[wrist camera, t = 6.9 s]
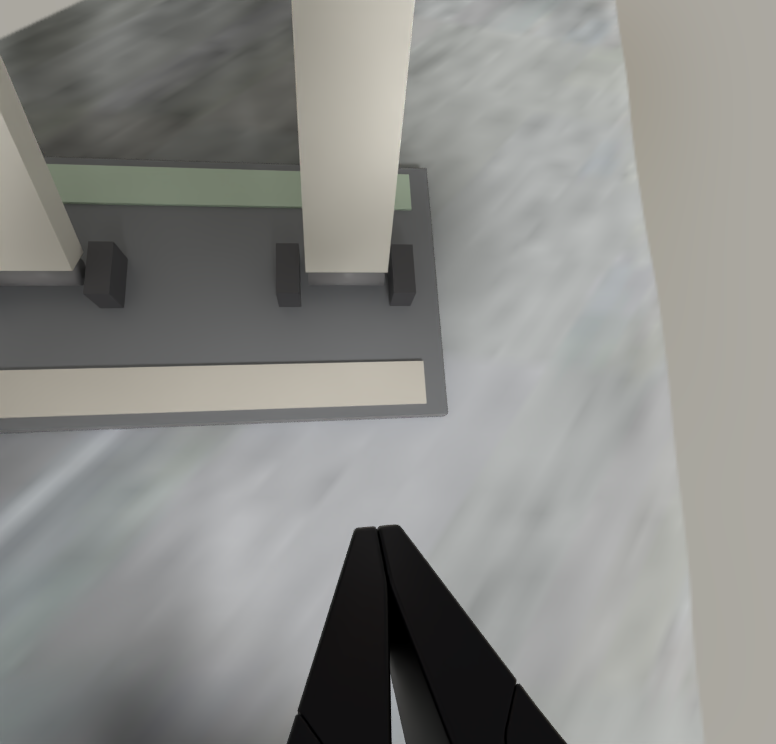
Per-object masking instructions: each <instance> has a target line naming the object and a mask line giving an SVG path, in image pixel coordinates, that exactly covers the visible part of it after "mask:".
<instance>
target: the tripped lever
mask: <svg viewBox="0 0 776 744" xmlns="http://www.w3.org/2000/svg"><path fill="white" fill-rule="evenodd" d="M291 4H292V23H293V42H294V61H295V80H296V99H297V118H298V137H299V156H300V175H301V194H302V213H303V232H304V251H305V270H306V272H308V283H309V285H384V278H385V273H388V264H389V254H390V244H391V235H392V225H393V215H394V205H395V195H396V185H397V175H398V165H399V155H400V145H401V135H402V125H403V115H404V106H405V96H406V86H407V76H408V66H409V56H410V46H411V36H412V26H413V16H414V6H415V0H291Z"/></svg>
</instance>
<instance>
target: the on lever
mask: <svg viewBox="0 0 776 744" xmlns="http://www.w3.org/2000/svg"><path fill="white" fill-rule="evenodd" d="M82 254H83V250H82V247H81V245H80V243H79V240H78V238H77V236H76V233H75V231H74V228H73V226H72V224H71V221H70V219H69V217H68V214H67V212H66V209H65V207H64V205H63V202H62V200H61V197H60V195H59V193H58V190H57V188H56V186H55V183H54V181H53V178H52V176H51V174H50V171H49V169H48V167H47V164H46V162H45V159H44V157H43V155H42V152H41V150H40V148H39V145H38V143H37V140H36V138H35V136H34V133H33V131H32V129H31V126H30V124H29V121H28V119H27V117H26V114H25V112H24V110H23V107H22V105H21V102H20V100H19V98H18V95H17V93H16V91H15V88H14V86H13V83H12V81H11V79H10V76H9V74H8V72H7V69H6V67H5V64H4V62H3V60H2V57H1V55H0V286H83V285H84V279H85V269H86V266H85V263H84V261H83V260H82V259H81V258H80V257H81V256H82Z"/></svg>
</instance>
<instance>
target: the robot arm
mask: <svg viewBox="0 0 776 744" xmlns="http://www.w3.org/2000/svg"><path fill="white" fill-rule="evenodd" d="M390 674H391V679H392V683H393V688H394V693H395V697H396V702H397V706H398V711H399V715H400V720H401V724H402V729H403V733H404V738H405V742H406V744H567V743H566V742H565V741H564V739H563V738H562V737H561V736H560V735H559V733H558V732H557V731H556V730H555V728H554V727H553V726H552V725H551V723H550V722H549V721H548V720H547V718H546V717H545V716H544V715H543V713H542V712H541V711H540V710H539V708H538V707H537V706H536V705H535V703H534V702H533V701H532V699H531V698H530V697H529V695H528V694H527V693H526V691H525V690H524V689H523V687H522V686H521V685H520V684H516V678H515V677H514V676H513V674H512V673H511V672H510V670H509V669H508V668H507V666H506V665H505V664H504V662H503V661H502V660H501V658H500V657H499V656H498V655H497V653H496V652H495V651H494V649H493V648H492V647H491V645H490V644H489V643H488V641H487V640H486V639H485V637H484V636H483V635H482V633H481V632H480V631H479V629H478V628H477V627H476V625H475V624H474V623H473V621H472V620H471V619H470V618H469V616H468V615H467V614H466V612H465V611H464V610H463V608H462V607H461V606H460V604H459V603H458V602H457V600H456V599H455V598H454V596H453V595H452V594H451V592H450V591H449V590H448V588H447V587H446V586H445V584H444V583H443V582H442V580H441V579H440V578H439V577H438V575H437V574H436V573H435V571H434V570H433V569H432V567H431V566H430V565H429V563H428V562H427V561H426V559H425V558H424V557H423V555H422V554H421V553H420V551H419V550H418V549H417V547H416V546H415V545H414V543H413V542H412V541H411V539H410V538H409V537H408V536H407V534H406V533H405V532H404V530H403V529H402V528H401V527H400V526H399V525H384V526H379V527H378V529H376V527H373V526H372V527H361V528H356V529H355V530H354V532H353V535H352V538H351V542H350V545H349V548H348V551H347V554H346V558H345V561H344V564H343V567H342V570H341V573H340V577H339V580H338V583H337V586H336V589H335V593H334V596H333V599H332V602H331V605H330V609H329V612H328V615H327V618H326V621H325V625H324V628H323V631H322V634H321V637H320V640H319V644H318V647H317V650H316V653H315V656H314V660H313V663H312V666H311V669H310V672H309V676H308V679H307V682H306V685H305V688H304V691H303V695H302V698H301V701H300V704H299V707H298V714H297V715H296V716H295V719H294V722H293V726H292V729H291V732H290V735H289V738H288V741H287V744H392V738H391V687H390Z"/></svg>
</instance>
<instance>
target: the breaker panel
mask: <svg viewBox="0 0 776 744" xmlns="http://www.w3.org/2000/svg"><path fill="white" fill-rule="evenodd" d="M44 159H45V162H46V164H47V167H48V169H49V171H50V174H51V176H52V178H53V181H54V183H55V186H56V188H57V190H58V193H59V195H60V197H61V200H62V202H63V205H64V207H65V209H66V212H67V214H68V217H69V219H70V221H71V224H72V226H73V228H74V231H75V233H76V236H77V238H78V240H79V243H80V245H81V247H82V250H83V254H82V256H81V257H80V258H81V259H82V260H83V261H84V263H85V266H86V269H85V279H84V285H83V286H0V433H21V432H47V431H73V430H99V429H126V428H152V427H178V426H204V425H230V424H256V423H282V422H308V421H334V420H361V419H387V418H413V417H439V416H445V415H447V414H448V407H447V395H446V384H445V373H444V361H443V350H442V338H441V327H440V316H439V304H438V293H437V281H436V270H435V259H434V247H433V236H432V224H431V213H430V202H429V190H428V179H427V168H398V175H397V185H396V195H395V205H394V215H393V225H392V235H391V244H390V254H389V264H388V273H385V278H384V285H309V283H308V272H306V270H305V251H304V232H303V213H302V194H301V175H300V165H299V164H267V163H234V162H202V161H170V160H138V159H105V158H73V157H44Z"/></svg>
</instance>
